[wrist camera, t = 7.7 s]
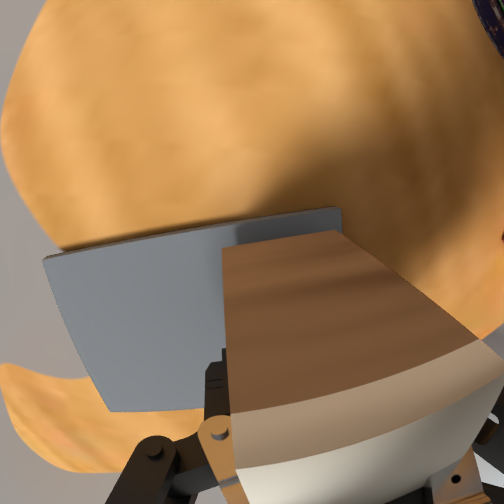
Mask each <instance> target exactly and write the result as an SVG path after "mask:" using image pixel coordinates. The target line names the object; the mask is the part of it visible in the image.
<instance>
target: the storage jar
mask: <svg viewBox="0 0 504 504" xmlns="http://www.w3.org/2000/svg"><path fill="white" fill-rule="evenodd" d="M472 2H473V4H474V7H475V9H476V12H477V14H478V16H479V18H480V20H481V23H482V25H483V26H484V28H485V30H486V32H487V34H488V36H489V37H490V39H491V41H492V43H493V44H494V46H495V47H496V49H497V50H498V52H499V53H500V55H501V56H502V58H503V59H504V0H472Z"/></svg>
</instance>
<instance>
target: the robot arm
mask: <svg viewBox="0 0 504 504" xmlns="http://www.w3.org/2000/svg"><path fill="white" fill-rule="evenodd" d="M491 413H492V414H494V415H495V416H496V417H497V418H498V420H499V424H497V423H495V422H493V421H492V420H491V419H489V418H487V419H486V421H485V423H484V425H483V426H482V428H481V430H480V431H479V433H478V435H477V436H476V438H475V440H474V441H473V443H472V444H471V446H470V448H469V449H468V451H467V452H466V454H465V455H464V457H462V458H461V459H459V460H457V461H456V462H454V463H452V464H450V465H449V466H447V467H445V468H443V469H442V470H440V471H438V472H436V473H434V474H432V475H430V476H429V478H428V479H427V481H426V482H425V483H424V485H423V487H421V488H419V489H417V490H414V491H412V492H410V493H408V494H406V495H403V496H401V497H399V498H397V499H394V500H392V501H389V502H387V503H384V504H504V488H502V487H498V486H494V485H491V484H487V483H483V482H481V479H480V475H479V470H478V467H477V463H476V459H475V456H474V452H475V453H476V454H478V455H479V456H480V457H482V458H483V459H484V460H486V461H487V462H488V463H490V464H491V465H492V466H494V467H495V468H496V469H498V470H499V471H500V472H502V473H503V474H504V386H503V388H502V390H501V393H500V395H499V397H498V399H497V401H496V403H495V404H494V406H493V408H492V410H491ZM473 451H474V452H473ZM218 485H219V486H220V488H221V491H222V492H223V495H224V497H225V499H226V501H227V503H228V504H250V503H249V501H248V498H247V496H246V494H245V492H244V489H243V487H242V485H241V482H240V480H239V478H238V475H237V473H236V470H235V462H234V451H233V439H232V427H231V414H230V401H229V386H228V371H227V355H226V348H222V361H217V362H211V363H210V364H209V366H208V368H207V369H206V371H205V399H204V422H203V423H202V424H201V425H200V426H199V429H198V431H197V432H196V433H194V434H193V435H191V436H189V437H187V438H184V439H180V440H177V441H174V442H172V441H171V440H170V439H169V438H167V437H164V436H150V437H147V438H145V439H143V440H142V441H141V442H140V443H139V444H138V445H137V446H136V448H135V450H134V452H133V453H132V455H131V457H130V459H129V461H128V462H127V464H126V466H125V468H124V470H123V472H122V473H121V475H120V477H119V479H118V481H117V483H116V484H115V486H114V488H113V490H112V492H111V493H110V495H109V497H108V499H107V501H106V503H105V504H195V501H196V498H197V496H198V493H199V492H201V491H204V490H207V489H210V488H212V487H216V486H218Z"/></svg>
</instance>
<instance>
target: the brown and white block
mask: <svg viewBox="0 0 504 504" xmlns="http://www.w3.org/2000/svg"><path fill="white" fill-rule="evenodd" d="M222 274H223V298H224V319H225V338H226V355H227V371H228V386H229V401H230V414H231V427H232V439H233V451H234V462H235V470H236V473H237V475H238V478H239V480H240V482H241V485H242V487H243V489H244V492H245V494H246V496H247V498H248V501H249V503H250V504H384V503H387V502H389V501H392V500H394V499H397V498H399V497H401V496H403V495H406V494H408V493H410V492H412V491H414V490H417V489H419V488H421V487H423V485H424V483H425V482H426V481H427V479H428V478H429V476H430V475H432V474H434V473H436V472H438V471H440V470H442V469H443V468H445V467H447V466H449V465H450V464H452V463H454V462H456V461H457V460H459V459H461V458H462V457H464V455H465V454H466V452H467V451H468V449H469V448H470V446H471V444H472V443H473V441H474V440H475V438H476V436H477V435H478V433H479V431H480V430H481V428H482V426H483V425H484V423H485V421H486V419H487V418H488V416H489V414H490V412H491V410H492V408H493V406H494V404H495V403H496V401H497V399H498V397H499V395H500V393H501V390H502V388H503V386H504V361H503V359H502V358H500V357H499V356H498V355H497V354H496V353H495V352H494V351H493V350H491V349H490V348H489V347H488V346H487V345H486V344H484V343H483V342H482V341H481V340H480V339H479V338H478V337H476V336H475V335H474V334H473V333H472V332H470V331H469V330H468V329H467V328H466V327H464V326H463V325H462V324H461V323H460V322H458V321H457V320H456V319H455V318H454V317H452V316H451V315H450V314H449V313H447V312H446V311H445V310H444V309H442V308H441V307H440V306H439V305H437V304H436V303H435V302H434V301H432V300H431V299H430V298H428V297H427V296H426V295H425V294H423V293H422V292H421V291H419V290H418V289H417V288H415V287H414V286H413V285H412V284H410V283H409V282H408V281H406V280H405V279H404V278H402V277H401V276H400V275H398V274H397V273H396V272H394V271H393V270H392V269H390V268H389V267H387V266H386V265H385V264H383V263H382V262H381V261H379V260H378V259H376V258H375V257H374V256H372V255H371V254H369V253H368V252H367V251H365V250H364V249H362V248H361V247H360V246H358V245H357V244H355V243H354V242H352V241H351V240H350V239H348V238H347V237H345V236H344V235H342V234H341V233H339V232H338V231H336V230H330V231H323V232H317V233H311V234H304V235H298V236H292V237H286V238H279V239H273V240H267V241H261V242H255V243H249V244H243V245H236V246H230V247H224V248H222Z"/></svg>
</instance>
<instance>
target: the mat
mask: <svg viewBox="0 0 504 504" xmlns="http://www.w3.org/2000/svg"><path fill="white" fill-rule="evenodd" d="M330 230H336V231H338V232H339V233H341V234H342V217H341V209H340V208H338V207H336V206H335V207H328V208H320V209H313V210H305V211H298V212H291V213H284V214H278V215H271V216H264V217H257V218H251V219H245V220H238V221H232V222H226V223H219V224H213V225H207V226H201V227H195V228H190V229H184V230H178V231H172V232H167V233H161V234H156V235H150V236H145V237H139V238H134V239H129V240H123V241H118V242H113V243H108V244H103V245H98V246H93V247H88V248H83V249H78V250H73V251H68V252H64V253H59V254H54V255H50V256H47V257H45V258H44V259H43V260H42V262H43V265H44V268H45V271H46V275H47V277H48V281H49V283H50V286H51V289H52V292H53V294H54V297H55V300H56V303H57V305H58V308H59V310H60V313H61V315H62V318H63V320H64V323H65V325H66V327H67V330H68V332H69V334H70V337H71V339H72V341H73V343H74V345H75V347H76V350H77V351H78V354H79V356H80V358H81V360H82V362H83V364H84V366H85V368H86V370H87V372H88V374H89V376H90V378H91V379H92V381H93V383H94V385H95V387H96V389H97V390H98V392H99V394H100V396H101V397H102V399H103V401H104V403H105V404H106V406H107V408H108V409H109V411H110V412H152V411H171V410H185V409H197V408H204V399H205V371H206V369H207V368H208V366H209V364H210V363H211V362H217V361H222V348H226V338H225V319H224V298H223V274H222V248H224V247H230V246H236V245H243V244H249V243H255V242H261V241H267V240H273V239H279V238H286V237H292V236H298V235H304V234H311V233H317V232H323V231H330Z"/></svg>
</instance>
